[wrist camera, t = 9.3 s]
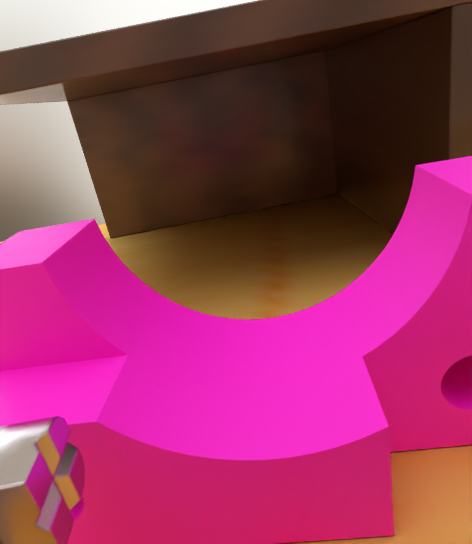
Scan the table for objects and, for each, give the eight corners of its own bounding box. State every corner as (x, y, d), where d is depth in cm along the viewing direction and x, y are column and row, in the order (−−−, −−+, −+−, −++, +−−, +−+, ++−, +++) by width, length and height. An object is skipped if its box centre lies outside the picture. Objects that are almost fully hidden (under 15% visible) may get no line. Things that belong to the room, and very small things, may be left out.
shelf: (346, 188, 40) (333, 28, 35) (469, 269, 22) (483, -45, 16) (112, 234, 40) (65, 81, 35) (37, 353, 22) (-88, 68, 16)
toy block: (6, 561, 12) (-139, 329, 9) (89, 404, 17) (19, 231, 14) (599, 521, 10) (674, 212, 7) (474, 360, 16) (485, 153, 13)
